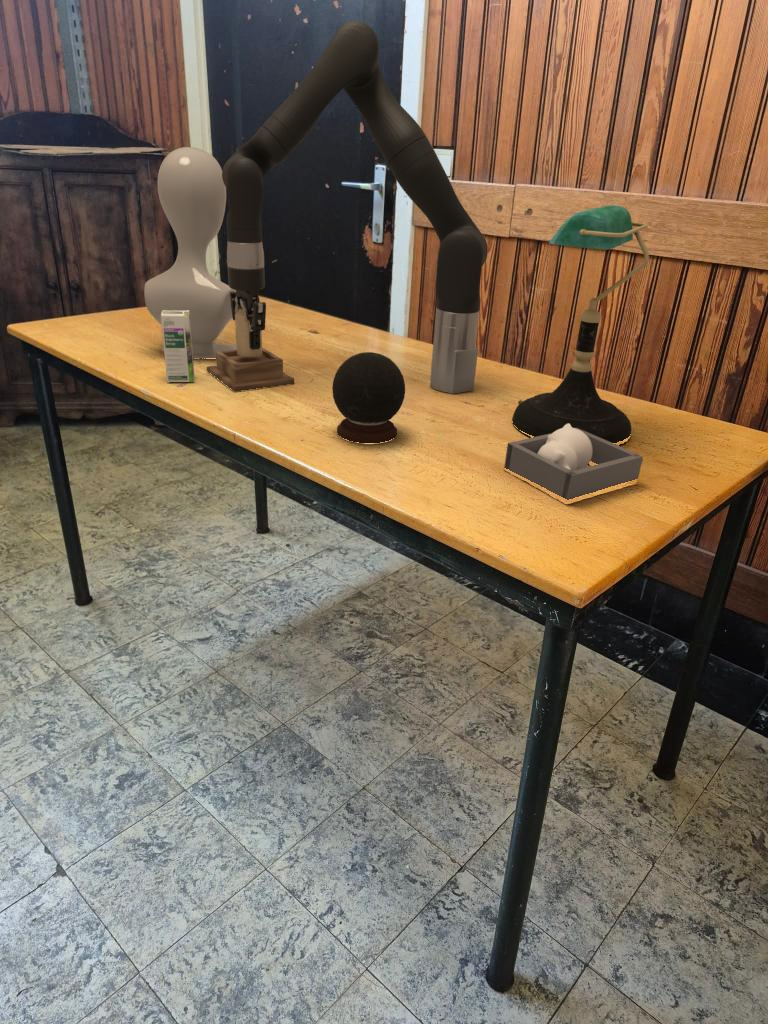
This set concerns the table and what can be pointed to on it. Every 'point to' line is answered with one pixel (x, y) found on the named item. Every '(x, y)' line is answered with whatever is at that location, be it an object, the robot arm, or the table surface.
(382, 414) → the black crystal ball
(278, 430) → the table surface
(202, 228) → the mannequin bust
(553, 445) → the cat figurine
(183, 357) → the syrup box
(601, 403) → the banker's lamp
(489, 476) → the table surface
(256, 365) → the display pedestal
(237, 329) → the candle
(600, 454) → the figurine tray
